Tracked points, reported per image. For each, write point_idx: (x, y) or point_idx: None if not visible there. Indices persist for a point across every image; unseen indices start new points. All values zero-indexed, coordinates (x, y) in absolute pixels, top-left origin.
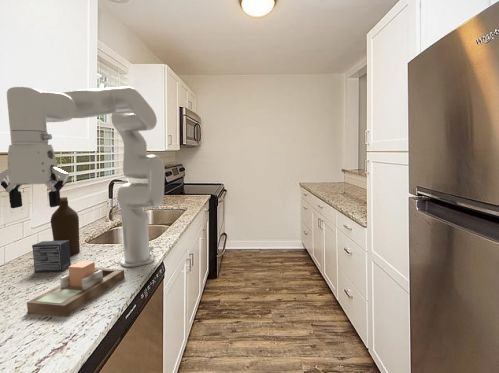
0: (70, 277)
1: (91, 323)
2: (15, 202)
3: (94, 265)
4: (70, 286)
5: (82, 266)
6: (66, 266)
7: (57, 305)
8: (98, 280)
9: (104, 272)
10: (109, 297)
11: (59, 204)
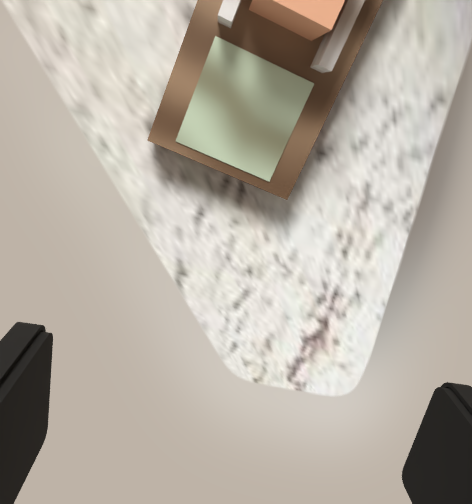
0: (257, 5)
1: (364, 248)
2: (26, 453)
3: None
4: (252, 18)
5: (326, 9)
6: None
7: (262, 188)
8: None
9: None
10: (393, 79)
11: (469, 393)
